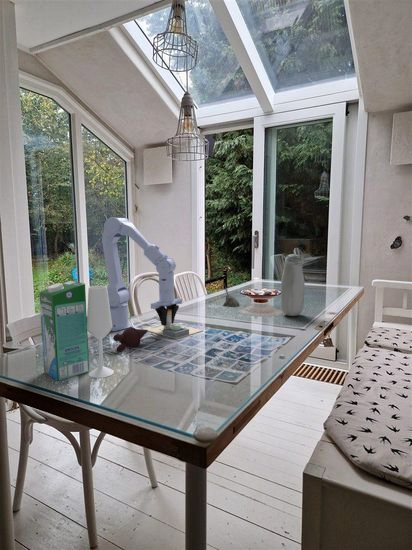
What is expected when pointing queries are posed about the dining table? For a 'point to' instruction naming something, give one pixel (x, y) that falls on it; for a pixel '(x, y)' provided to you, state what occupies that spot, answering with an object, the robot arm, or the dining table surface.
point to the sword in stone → (230, 300)
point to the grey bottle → (292, 286)
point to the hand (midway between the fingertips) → (167, 324)
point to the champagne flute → (99, 324)
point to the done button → (175, 327)
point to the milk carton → (64, 330)
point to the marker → (168, 319)
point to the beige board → (159, 330)
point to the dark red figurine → (129, 338)
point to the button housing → (175, 334)
